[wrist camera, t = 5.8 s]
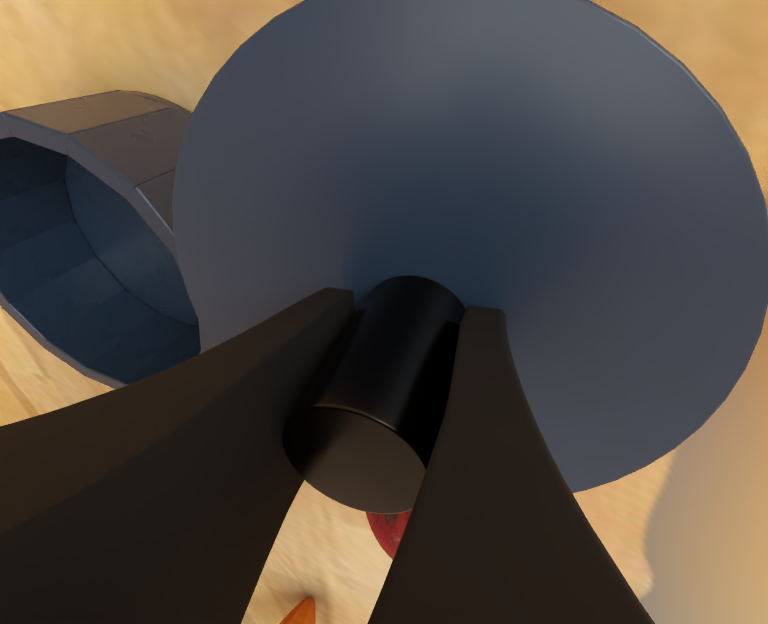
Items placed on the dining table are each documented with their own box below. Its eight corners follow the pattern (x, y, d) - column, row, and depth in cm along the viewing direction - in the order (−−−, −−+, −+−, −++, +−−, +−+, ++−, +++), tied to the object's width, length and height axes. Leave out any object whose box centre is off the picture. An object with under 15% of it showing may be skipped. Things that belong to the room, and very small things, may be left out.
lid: (364, 486, 16) (303, 642, 12) (116, 185, 11) (-103, 274, 8) (810, 433, 9) (988, 731, 5) (617, -284, 5) (807, -1153, 1)
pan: (185, 354, 25) (116, 419, 21) (25, 176, 21) (-96, 214, 17) (333, 288, 19) (276, 361, 15) (149, 22, 15) (6, 27, 11)
